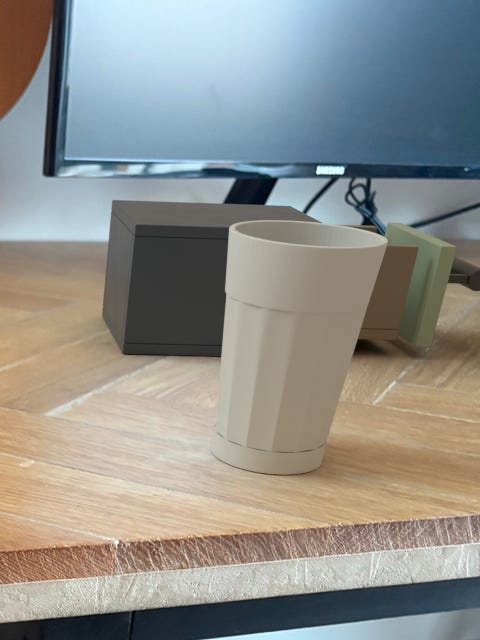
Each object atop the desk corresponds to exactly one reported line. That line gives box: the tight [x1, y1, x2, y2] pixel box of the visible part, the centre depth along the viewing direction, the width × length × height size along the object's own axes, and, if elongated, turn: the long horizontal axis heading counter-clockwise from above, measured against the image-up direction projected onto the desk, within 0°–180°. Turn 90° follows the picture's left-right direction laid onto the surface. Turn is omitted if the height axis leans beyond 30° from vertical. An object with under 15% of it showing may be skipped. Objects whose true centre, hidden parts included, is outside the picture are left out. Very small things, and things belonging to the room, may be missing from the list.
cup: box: [210, 220, 388, 476], centre depth 54 cm, size 8×8×12 cm
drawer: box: [339, 221, 480, 348], centre depth 78 cm, size 18×10×7 cm, turn 93°
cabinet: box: [101, 199, 323, 357], centre depth 77 cm, size 15×12×9 cm
